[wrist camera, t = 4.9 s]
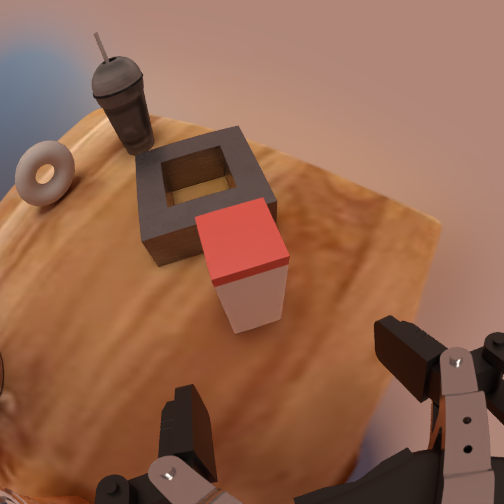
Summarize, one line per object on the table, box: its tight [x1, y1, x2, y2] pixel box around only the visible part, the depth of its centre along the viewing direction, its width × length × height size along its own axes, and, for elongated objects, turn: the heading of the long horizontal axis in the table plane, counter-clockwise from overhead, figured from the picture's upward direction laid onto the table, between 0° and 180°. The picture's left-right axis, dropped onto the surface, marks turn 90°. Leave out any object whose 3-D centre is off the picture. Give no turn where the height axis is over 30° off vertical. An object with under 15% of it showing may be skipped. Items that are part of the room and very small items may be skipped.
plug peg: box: [195, 198, 290, 334], centre depth 22 cm, size 4×4×12 cm
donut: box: [15, 141, 75, 206], centre depth 32 cm, size 10×3×10 cm, turn 139°
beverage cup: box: [92, 33, 154, 155], centre depth 32 cm, size 7×7×20 cm
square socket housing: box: [135, 126, 277, 266], centre depth 31 cm, size 13×13×5 cm
